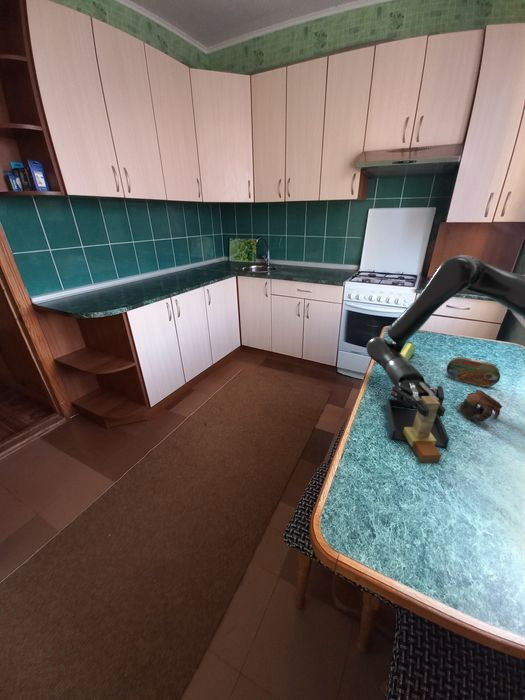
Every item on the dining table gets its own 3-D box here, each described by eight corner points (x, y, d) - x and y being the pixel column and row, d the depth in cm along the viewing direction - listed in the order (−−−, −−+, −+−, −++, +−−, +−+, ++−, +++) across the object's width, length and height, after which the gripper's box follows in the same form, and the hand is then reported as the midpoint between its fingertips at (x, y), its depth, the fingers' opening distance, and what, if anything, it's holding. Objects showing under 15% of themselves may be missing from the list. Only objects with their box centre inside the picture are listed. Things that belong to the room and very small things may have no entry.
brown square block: (429, 448, 75) (432, 441, 74) (438, 462, 71) (441, 455, 70) (412, 448, 75) (414, 441, 74) (420, 462, 71) (423, 455, 70)
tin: (443, 377, 104) (450, 356, 100) (444, 373, 107) (451, 353, 103) (495, 390, 97) (504, 368, 93) (494, 386, 99) (503, 364, 95)
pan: (446, 448, 75) (449, 439, 73) (391, 439, 78) (393, 430, 76) (424, 393, 96) (426, 385, 94) (382, 388, 99) (383, 380, 97)
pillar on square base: (424, 432, 79) (437, 393, 73) (434, 446, 74) (448, 406, 68) (402, 432, 79) (413, 393, 73) (411, 446, 74) (423, 406, 68)
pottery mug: (450, 403, 92) (469, 383, 89) (478, 421, 90) (498, 401, 87) (463, 419, 80) (485, 396, 78) (495, 439, 79) (519, 417, 76)
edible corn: (415, 351, 122) (418, 342, 120) (404, 372, 108) (407, 361, 106) (402, 348, 125) (404, 339, 123) (390, 368, 110) (392, 357, 108)
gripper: (381, 364, 82) (408, 401, 67) (430, 363, 82) (469, 400, 67) (377, 386, 86) (402, 426, 71) (424, 385, 86) (460, 425, 70)
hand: (434, 413), depth 69 cm, fingers closed on pillar on square base, 3 cm apart
